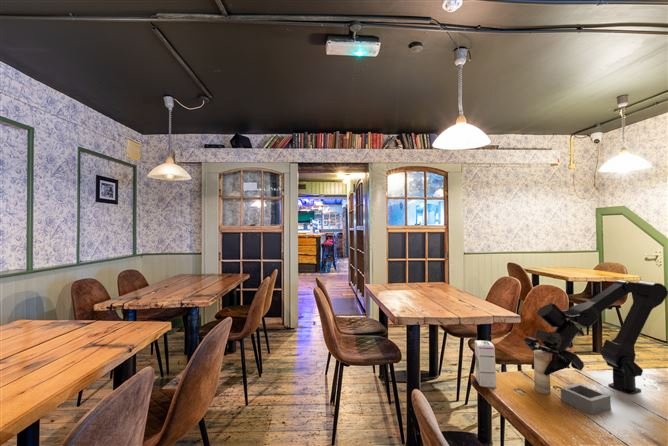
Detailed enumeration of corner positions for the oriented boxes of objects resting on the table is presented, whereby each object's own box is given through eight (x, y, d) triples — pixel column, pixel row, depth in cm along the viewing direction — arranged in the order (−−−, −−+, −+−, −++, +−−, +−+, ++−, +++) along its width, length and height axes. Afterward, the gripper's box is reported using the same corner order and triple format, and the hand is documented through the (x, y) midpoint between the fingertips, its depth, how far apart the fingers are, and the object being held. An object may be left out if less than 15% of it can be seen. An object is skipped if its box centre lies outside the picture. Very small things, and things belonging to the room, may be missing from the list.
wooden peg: (540, 386, 110) (539, 349, 111) (553, 392, 106) (552, 353, 106) (531, 388, 108) (530, 350, 109) (544, 394, 104) (543, 355, 105)
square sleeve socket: (579, 395, 104) (579, 383, 104) (610, 409, 96) (610, 395, 96) (561, 400, 101) (560, 387, 101) (591, 414, 92) (591, 401, 93)
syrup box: (497, 388, 109) (495, 346, 110) (478, 386, 110) (477, 344, 111) (492, 380, 115) (491, 340, 116) (475, 379, 116) (474, 339, 117)
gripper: (526, 314, 118) (503, 347, 115) (575, 328, 100) (549, 367, 97) (544, 334, 120) (521, 366, 117) (595, 351, 102) (570, 390, 98)
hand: (538, 371), depth 107 cm, fingers closed on wooden peg, 4 cm apart
